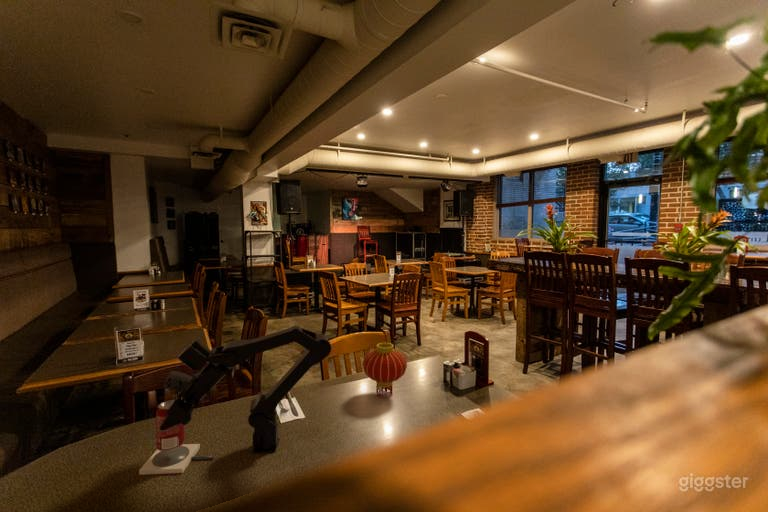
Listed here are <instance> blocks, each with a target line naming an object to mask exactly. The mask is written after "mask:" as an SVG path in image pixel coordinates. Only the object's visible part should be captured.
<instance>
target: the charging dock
mask: <svg viewBox="0 0 768 512" xmlns="http://www.w3.org/2000/svg"><path fill="white" fill-rule="evenodd" d="M200 447H201V444H200V443H185V444H184V443H183V444H182V445H181V446H180V447H179V448H177V449H175V450H172V451H166V452H165V451H160V450H157V449H156V450H155V452H154V453H153V454H152V455H151V456H150V457H149V458H148V459H147V461H145V463H144V464H143V465H142V466H141V467H140V468H139V470H138V475H141V476H142V475H162V474H163V475H164V474H183V473H184V472H185V470H186V469H187V467H188V466H189V464H190V463H191V461H192V460H193V461H198V460H214V459H215V455H205V456H204V455H199V456H198V455H197V456H195V455H196V454H197V453H198V451H199V450H200V449H201V448H200Z"/></svg>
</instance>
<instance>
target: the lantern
mask: <svg viewBox="0 0 768 512" xmlns="http://www.w3.org/2000/svg"><path fill="white" fill-rule="evenodd" d="M384 327H385V328H384V329H385V330H384V334H386V330H387V329H386V327H387V325H386V320H385V322H384ZM394 347H395V345H394V343H390V342H379V343H377V344H376V347H375V348H374V349H372V350H371V351H369V352H367V354H366V355H365V357H364V358H363V361H362V368H363V371H364V374H365V375H366V376H367V377H368V378H369V379H371V380H372V381H374V382H376V388H375V389H376V392H375V393H377V394H378V395H379V393H378V390H379V391H380V397H381V396H382V397H383V398H385V397H387V398H388V392H387V389H388V390H390V392H389V394H390V396H391V395H392V396H393V384H394V383H393V382H396V381H398V380H399V379H401V378H403V376H404V375H405V373H406V370H407V368H408V365H407V364H408V362H407V358H406V357H405V355H403V353H402V352H400V351H399V350H397V349H395V348H394ZM383 389H385V391H383Z"/></svg>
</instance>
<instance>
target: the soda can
mask: <svg viewBox="0 0 768 512" xmlns="http://www.w3.org/2000/svg"><path fill="white" fill-rule="evenodd" d="M174 400H175V399H171V400H166V401H164V402H161V403H160V404H159V405H158V409H157V410H156V412H155V432H156V433H155V434H156V435H155V439H156V440H155V441H156V442H155V443H156V448H155V449H156V450H160V451H165V452H166V451H172V450H175V449H177V448H179V447H180V446H181V445H182V444H184V443H185V425H183V424H181V423H180V424H178V425H175V426H173V427H170V428H168V429H166V430H163V431H162V430H160V429H159V428H160V427H161V425H162V424H163V422H164V421H165V419H166V418H167V416H168V414H167V412H166V411H167V409H168V407H169V406H170V404H172V403H173V402H174Z"/></svg>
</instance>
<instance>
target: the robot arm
mask: <svg viewBox="0 0 768 512" xmlns="http://www.w3.org/2000/svg"><path fill="white" fill-rule="evenodd" d="M293 343H296V344H298V345H300V346H301V347H302V348H304V351H303V353H302V354H301V356H300V357H299V358H298V359H297V361H296V362H294V364H293V365H292V366H291V367H290V368H289V369H288V370H287V371H286V373H285V374H283V376H282V377H281V378H280V379H279V380H278V381H277V382H276V383H275V385H273V387H272V388H271V389H270V390H269V391H268V392H265V393H263V392H262V391H259V392H258V394H257V396H256V397H255V398H253V399H252V400H251V402H250V405H249V409H248V416H247V417H248V418H247V421H248V422H247V423H248V424H249V426H251V428H253V433H252V449H253V450H252V453H253V454H257V453H258V454H259V453H260V454H261V453H275V452H276V451H277V448H278V446H279V443H280V437H279V422H277V411H276V409H277V407H278V405H279V403H280V402H281V401H282V400H283V399H284V398H285V397H286V396H287V394H288V393H289V392H290V391H291V390H292V389H293V388H294V387H295V385H296V384H297V383H298V382H299V381H300V380H301V379H302V378H303V377H304V375H305V374H307V372H308V371H309V370H310V369H311V368H312V367H313V366H316V365H317V364H319V363H321V362H323V361H324V360H325V359H326V358H327V357H329V355H330V354H331V352H332V345H331V341H330V339H329V338H328V336H327V335H326V334H324V333H316V332H314V331H311V330H308V329H305V328H304V327H301V326H299V325H292V326H291V327H288V328H286V329H281V330H278V331H275V332H271V333H269V334H265V335H262V336H258V337H256V338H251V339H238V340H231V341H228V342H226V343H225V344H224V345H221V346H216V347H215V346H214V347H212V348H211V349H210V348H209V347H207V346H206V345H205V344H203V343H202V342H201V341H200V340H199V339H198V338H196V339H195V340H194V341H192V343H190V344H189V345H187V346H186V347H185V348H184V350H182V352H181V353H179V355H178V356H177V357H176V359H177V360H178V361H180V362H181V363H182V364H183V365H185V366H186V367H188V368H189V369H190V370H192V371H198V370H201V371H200V372H197V373H195V374H194V375H193V376H191V375H190V374H189V375H188V374H187V373H183V372H181V371H177V370H171V371H170V373H169V374H168V376H167V377H166V379H165V381H164V384H163V388H164V389H167V390H170V391H174V392H176V391H177V392H178V398H177V399H173V400H174V402H173V403H172V404H170V406H169V407H168V409H167V411H166V412H167V414H168V416H167V418H166V419H165V421H164V422H163V424H162V425H161V427H160V428H159V429H160V430H162V431H163V430H166V429H168V428H170V427H173V426H175V425H178V424H180V423H181V424H183V425H184V426H187V425H188V424H189V423H190V421H192V418H193V417H194V415H195V409H194V407H192V406H193V405H194V406H196V407H198V406H199V405H200V403H201V401H202V400H203V399H204V398H205V397H206V396H207V395H210V394H211V392H212V390H213V388H214V387H215V386H217V384H218V383H219V382H221V380H222V379H223V378H224V377H225V376H226V377H227V378H228V379H229V380H232V379H233V376H234V374H235V373H234V368H235V367H236V366H239V365H240V364H242V363H244V362H246V361H248V360H249V359H250V358H251V357H253V356H255V355H258V354H261V353H264V352H267V351H271V350H274V349H277V348H279V347H283V346H287V345H289V344H293ZM202 368H203V369H202Z"/></svg>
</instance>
